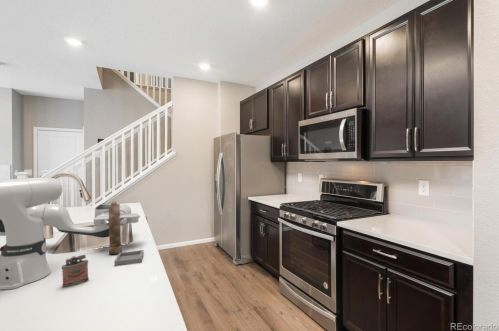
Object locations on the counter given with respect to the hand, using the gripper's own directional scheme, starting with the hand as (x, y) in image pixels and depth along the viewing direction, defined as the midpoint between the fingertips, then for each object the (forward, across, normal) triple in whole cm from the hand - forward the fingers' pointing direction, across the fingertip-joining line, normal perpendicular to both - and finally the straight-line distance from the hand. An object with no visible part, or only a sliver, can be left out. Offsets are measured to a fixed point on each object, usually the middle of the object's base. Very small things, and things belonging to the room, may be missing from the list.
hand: (114, 223), depth 121 cm
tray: (+10, -8, -15) cm, 20 cm away
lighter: (+27, +8, -15) cm, 32 cm away
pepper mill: (-1, 0, -14) cm, 14 cm away
